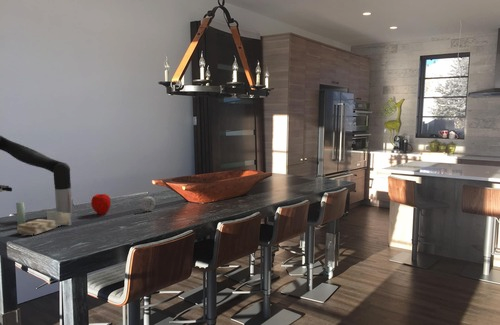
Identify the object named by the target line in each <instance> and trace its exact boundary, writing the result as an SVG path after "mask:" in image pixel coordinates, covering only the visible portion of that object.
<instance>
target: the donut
mask: <svg viewBox="0 0 500 325" xmlns="http://www.w3.org/2000/svg"><path fill="white" fill-rule="evenodd" d="M148 202H149V205H147V203H148ZM155 206H156V201H155V198H153V197H152V196H149V195H148V196H145V197H143V198H142V199H141V202H140V208H141V210H142V211H144V212H151V211H152V210H154V208H155Z"/></svg>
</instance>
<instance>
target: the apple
mask: <svg viewBox="0 0 500 325" xmlns="http://www.w3.org/2000/svg"><path fill="white" fill-rule="evenodd" d="M111 200H112V199H111V197H110V196H109V195H108V194H106V193H104V194H103V193H99V194H95V195H93V196H92V198H91V203H90V204H91V208H92V209H93V211H95V212H96V214H97V215H99V216H100V215H101V216H102V215H106V214H107V213H108V212H109V210H110V208H111Z"/></svg>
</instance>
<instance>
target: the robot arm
mask: <svg viewBox="0 0 500 325" xmlns="http://www.w3.org/2000/svg"><path fill="white" fill-rule="evenodd" d="M0 151H3V152H4V153H7V154H9V155H10V156H11V157H13V158H14V159H16V160H17V161H19V162H22V163H24V164H26V165H29V166H33V167H37V168H41V169H45V170H47V171H48V172H51V173H52V174H53V182H54V183H53V185H54V193H55V194H54V197H55V212H66V213H71V216H72V215H74V201H73V200H74V199H73V198H72V184H71V168H70V165H69V164H68V163H65V162H63V161H61V160H60V161H59V160H57V159H54V158H51V157H49V156H47V155H45V154H44V153H41V152H39V151H37V150H35V149H33V148H30V147H28V146H26V145H23V144H20V143H17V142H16V141H15V142H14V141H12V140H10V139H8V138H6V137H4V136H2V135H0ZM12 191H13V188H12V187H9V185H4V184H3V185H2V184H0V193H2V192H12Z"/></svg>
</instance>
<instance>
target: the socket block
mask: <svg viewBox="0 0 500 325" xmlns="http://www.w3.org/2000/svg"><path fill="white" fill-rule="evenodd" d="M56 228H57V227H56V224H55V221H54V220H47V219H42V218H37V219H33V220H29V221H27V222H26V223H23V224H20V225H18V224H17V225H16V229H17V231H16V233H17V234H19V233H25V234H34V235H33V236H35V235H38V234H41V233H44V232H47V231H50V230H53V229H56Z"/></svg>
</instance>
